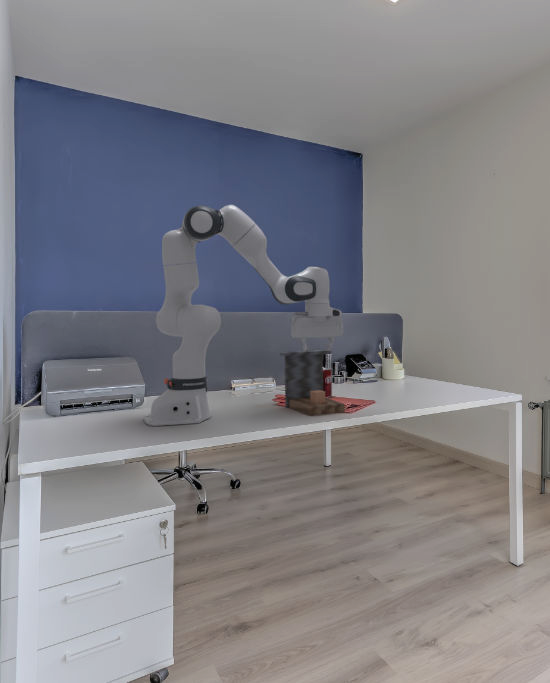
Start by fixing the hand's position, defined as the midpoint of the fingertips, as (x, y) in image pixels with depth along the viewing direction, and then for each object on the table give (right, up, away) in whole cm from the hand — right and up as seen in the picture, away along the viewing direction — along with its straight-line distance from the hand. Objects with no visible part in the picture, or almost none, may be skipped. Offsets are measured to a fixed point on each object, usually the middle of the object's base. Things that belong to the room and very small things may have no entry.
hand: (317, 350), depth 168 cm
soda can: (+5, -21, +28) cm, 35 cm away
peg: (0, -22, +2) cm, 22 cm away
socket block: (0, -22, +3) cm, 22 cm away
